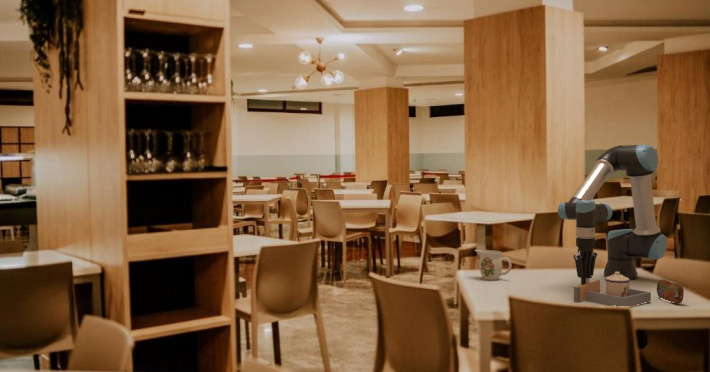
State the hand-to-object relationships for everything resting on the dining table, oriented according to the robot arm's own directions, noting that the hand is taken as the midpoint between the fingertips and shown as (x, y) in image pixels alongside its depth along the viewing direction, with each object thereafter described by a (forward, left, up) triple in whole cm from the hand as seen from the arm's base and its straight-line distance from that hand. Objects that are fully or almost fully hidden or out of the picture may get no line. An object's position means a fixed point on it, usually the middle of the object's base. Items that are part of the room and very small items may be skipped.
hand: (585, 293), depth 265 cm
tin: (-18, +26, -2) cm, 32 cm away
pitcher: (+2, -51, -2) cm, 51 cm away
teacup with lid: (-2, +14, -1) cm, 14 cm away
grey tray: (0, +13, -1) cm, 13 cm away
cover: (0, +2, -1) cm, 3 cm away
